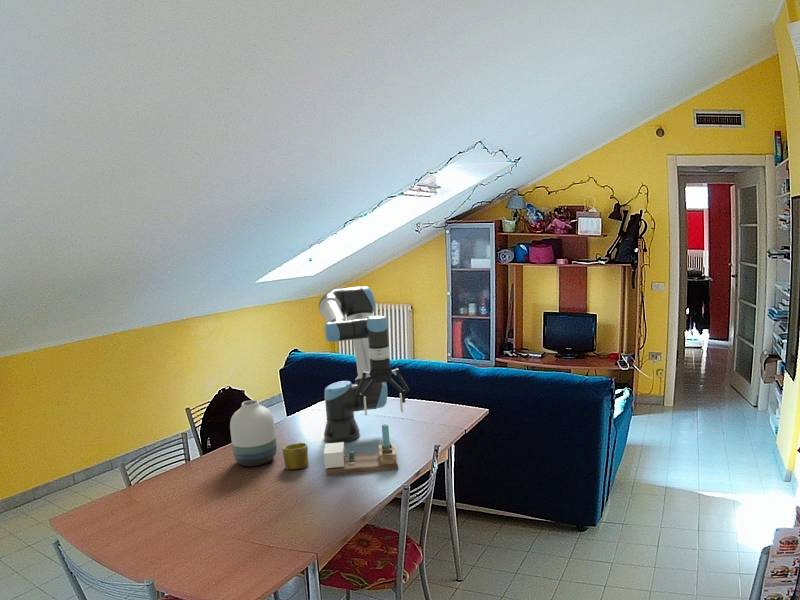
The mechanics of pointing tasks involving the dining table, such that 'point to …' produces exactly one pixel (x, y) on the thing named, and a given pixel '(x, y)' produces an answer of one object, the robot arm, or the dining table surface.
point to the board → (367, 462)
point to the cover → (334, 455)
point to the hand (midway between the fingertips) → (383, 412)
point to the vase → (253, 434)
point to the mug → (295, 456)
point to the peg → (385, 436)
